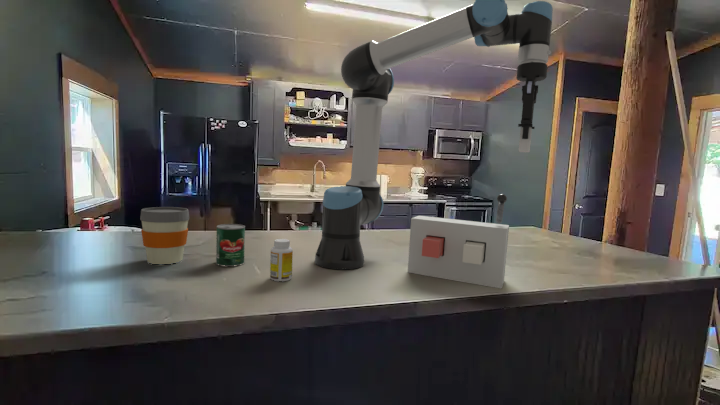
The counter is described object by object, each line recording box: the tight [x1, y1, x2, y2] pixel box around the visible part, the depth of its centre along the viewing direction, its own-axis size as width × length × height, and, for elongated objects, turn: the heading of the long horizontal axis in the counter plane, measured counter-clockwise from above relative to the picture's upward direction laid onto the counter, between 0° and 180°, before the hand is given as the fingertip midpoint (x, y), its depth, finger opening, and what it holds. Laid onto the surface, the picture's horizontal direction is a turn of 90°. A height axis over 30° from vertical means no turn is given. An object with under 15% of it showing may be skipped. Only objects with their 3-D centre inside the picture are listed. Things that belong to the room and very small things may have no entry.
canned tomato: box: [215, 223, 246, 267], centre depth 112 cm, size 8×8×11 cm
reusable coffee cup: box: [139, 206, 190, 265], centre depth 111 cm, size 13×12×15 cm
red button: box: [422, 236, 445, 258], centre depth 107 cm, size 5×6×5 cm
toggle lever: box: [495, 193, 508, 224], centre depth 107 cm, size 3×3×9 cm
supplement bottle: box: [269, 238, 294, 282], centre depth 100 cm, size 6×6×10 cm
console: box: [407, 215, 510, 289], centre depth 110 cm, size 26×8×16 cm, turn 65°
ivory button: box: [462, 241, 485, 265], centre depth 103 cm, size 5×6×5 cm
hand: (524, 151), depth 107 cm, fingers open, 3 cm apart
